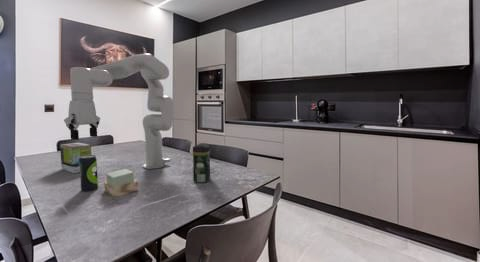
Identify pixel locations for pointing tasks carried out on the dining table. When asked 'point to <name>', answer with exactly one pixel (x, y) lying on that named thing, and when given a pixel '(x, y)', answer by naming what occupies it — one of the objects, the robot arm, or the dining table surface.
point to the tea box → (73, 155)
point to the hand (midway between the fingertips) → (84, 138)
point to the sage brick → (120, 177)
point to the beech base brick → (121, 188)
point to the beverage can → (88, 173)
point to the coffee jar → (201, 163)
